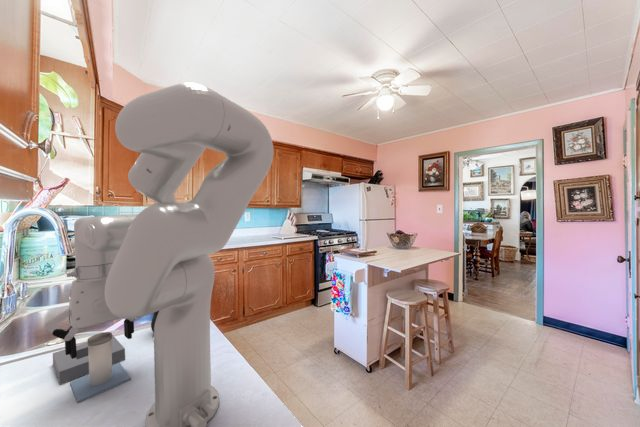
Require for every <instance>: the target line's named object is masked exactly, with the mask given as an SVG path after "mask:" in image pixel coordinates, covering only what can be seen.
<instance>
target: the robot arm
mask: <svg viewBox="0 0 640 427" xmlns="http://www.w3.org/2000/svg"><path fill="white" fill-rule="evenodd" d="M114 131H115V136H116V138H117V140H118V141H119V143H120V144H121V145H122V146H123V147H124V148H126V149H128V150H129V151H132V152H137V153H140V154H139V155H138V156H137V159H135V162H134V164H132V167H131V168H130V169H129V171H128V174H127V179H128V181H129V183H130V185H131V186H132V188H134V189H135V190H136V191H137V192H138V193H140V194H141V195H143V196H145V197H147V198H149V199H151V200H153V201H154V203H153V204H152V205H149V206H147V207H146V208H144V209H142V210H141V211H140V212H139V213H136V214H135V213H134V214H109V215H108V214H107V215H98V216H87V217H85V216H84V217H80V218H78V219H76V220H75V221H74V223H73V224H74V225H73V226H74V227H73V228H74V229H73V231H74V232H73V235H74V237H73V238H74V256H75V258H74V259H75V266H74V267H73V269H71V270H66V278H70V277H71V278H74V280H73V281H72V282H71V286H70V290H69V298H68V299H69V300H68V301H69V302H68V308H67V309H66V310H64V311H63V312H61V313H59V314H58V315H56V316H54V317H53V318H51V319H49V320H47V321H46V322H45V323H44V327H45V328H46V330H48V332H49V333H51V334H52V336H53V337H57V338H59V339H61V340H64V349H65V353H66V355H69V354H70V356H71V358H72V359H74V358H75V357H77V353H76V346H77V339H76V337H75V336H76V334H77V333H78V332H79V331H80V330H84V329H88V328H91V327H96V326H98V325H99V326H100V325H103V324H105V323H109V322H113V321H116V320H119V319H123V320H124V321H123V330H124V332H123V333H124V337H125V338H126V339H127V340H131V339H133V334H134V333H135V324H134V323H135V322H134V321H136V319H139V318H143V317H147V316H149V315H152V314H154V312H157V311H159V312H158V315H157V318H156V322H155V326H154V333H153V353H154V354H153V355H154V356H153V357H154V358H153V361H154V366H153V367H154V404H153V405H152V406H151V407H150V408H149V410H148V411H147V413H146V416H145V421H144V422H145V423H144V427H207V423H208V422H209V421H210V420H211V419H212V418H213V417H214V416H215V414H216V412H217V410H218V407H219V405H220V394H219V390H218V389H217V388H216V387H215V386H213V385H212V384H211V382H212V380H211V378H212V377H211V376H212V375H211V372H212V371H211V301H212V296H213V293H212V292H213V289H214V283H215V279H216V278H215V277H216V276H215V275H216V272H215V271H216V269H215V265H214V261H213V259H212V258H211V257H210V255H212V254H215V253H218V252H219V251H221V250H222V249H224V248H225V246H226V245H227V243H228V242H229V240H230V238H231V237H232V235H233V233H234V231H235V229H236V228H237V226H238V224H239V223H240V221H241V219H242V217H243V215H244V213H245V212H246V210H247V208H248V205H249V204H250V202H251V201H252V199H253V197H254V196H255V194H256V192H257V191H258V189H259V188H260V186H261V185H262V183H263V181H264V180H265V178H266V176H267V175H268V173H269V171H270V169H271V166H272V163H273V158H274V144H273V139H272V136H271V134H270V132H269V130H268V129H267V127H266V125H265V123H264V122H263V121H261V120H260V119H259V118H258V117H257V116H256V115H254V113H252V112H250V111H249V110H247V109H246V108H244V107H243V106H241V105H240V104H237V103H236V102H233V101H231V100H230V99H228V98H227V97H225V96H223V95H222V94H220V93H218V92H217V91H215V90H213V89H211V88H210V87H209V86H206V85H202V84H200V83H196V82H181V83H177V84H174V85H169V86H167V87H163V88H160V89H157V90H154V91H151V92H147V93H145V94H142V95H139V96H138V97H134V98H133V99H132V100H130V101H129V102H127V103H126V104H125V105H124V106H123V107H122V108H121V109H120V111H119V113H118V115H117V117H116V120H115V124H114ZM206 149H209V150H212V151H214V152H215V151H216V152H219V153H223V154H225V155H226V157H225V158H224V160H222V161H221V162H219V163H218V164H217V165H215V166H214V167H213V168H212V169H210V171H209V172H208V173H207V175H206V176H205V177H204V179H203V181H202V183H201V185H200V187H199V189H198V190H197V192H196V193H195V195H194V197H193V198H192V199H191V200H189V201H187V202H179V201H178V202H177V199H176V196H175V193H176V192H177V190H178V188H180V186H181V184H182V183H183V181H184V180H186V178H187V176H188V175H189V173H190V172H191V170H193V168H194V166H195V165H196V163H197V162H198V161H199V159H200V158H201V156H202V155H203V153H204V152H205V150H206ZM67 318H68V322H69V323H70V325H69V326H68V327H67V328H66V329H65V330H64V329H62V328H59V327H58V325H59V324H60V323H61V322H63V321H64V320H66V319H67Z"/></svg>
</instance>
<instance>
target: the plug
mask: <svg viewBox="0 0 640 427" xmlns="http://www.w3.org/2000/svg"><path fill="white" fill-rule="evenodd" d="M112 335H113V332H111V331H105V332H99V333H96V334H93V335H92V336H91V335H90V337H88V338H87V342H88V357H89V374H88V375H89V385H90V386H97V385H101V384H103V383H105V382H107V381H109V380H110V379H111V378H112V366H113V365H112V340H111V339H112Z"/></svg>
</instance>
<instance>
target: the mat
mask: <svg viewBox="0 0 640 427" xmlns="http://www.w3.org/2000/svg"><path fill="white" fill-rule="evenodd" d="M130 380H132V377H131V375H129V373H128V372H127V370H126V369H125V368H124V366H123V365H122V364H121V362H118V363H116V364H113V365H112V378H111V379H110V380H109V381H107V382H105V383H103V384H101V385H97V386H90V385H89V374H87V375H85V376H82V377H79V378H77V379H74V380H72V381H69V385H70V388H71V390H72V392H73V395H74V398H75V400H76V403H77V404H79V403H82V402H83V401H86V400H88V399H90V398H92V397H95V396H97V395H99V394H102V393H105V392H106V391H108V390H111V389H114V388H115V387H117V386H119V385H122V384H124V383H126V382H129V381H130Z"/></svg>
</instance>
